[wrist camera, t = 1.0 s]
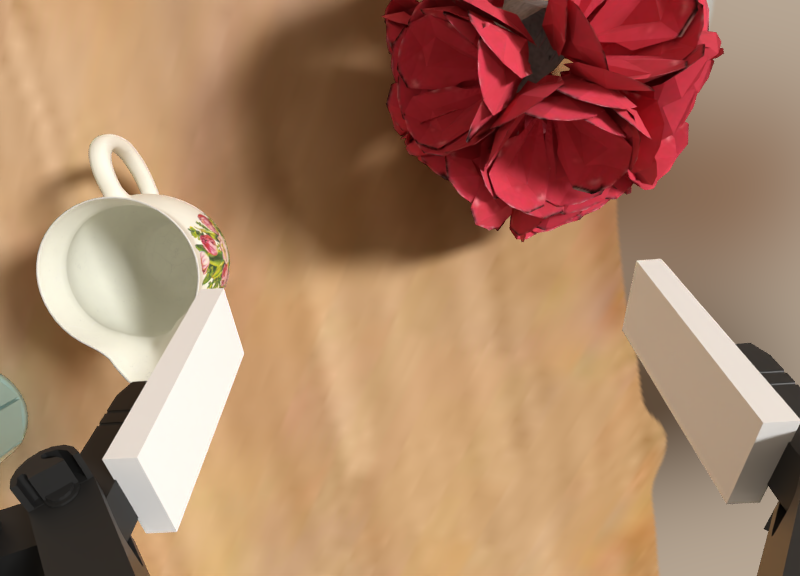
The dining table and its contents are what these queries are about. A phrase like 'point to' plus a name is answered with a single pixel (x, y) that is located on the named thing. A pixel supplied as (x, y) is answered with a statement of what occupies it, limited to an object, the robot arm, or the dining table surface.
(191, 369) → the robot arm
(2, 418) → the bowl
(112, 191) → the pitcher
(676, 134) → the bouquet
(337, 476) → the dining table surface
